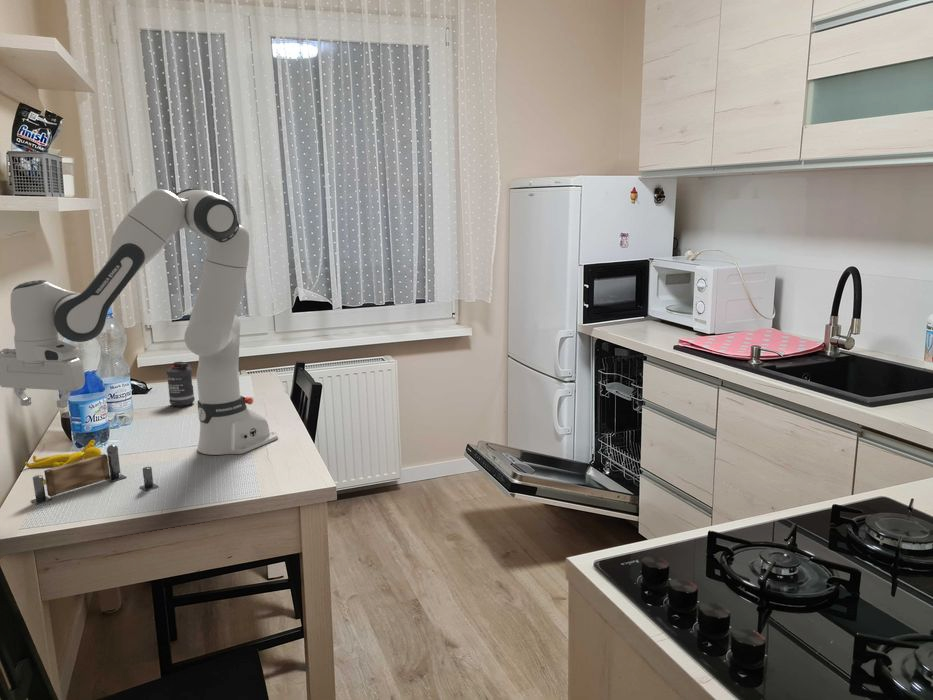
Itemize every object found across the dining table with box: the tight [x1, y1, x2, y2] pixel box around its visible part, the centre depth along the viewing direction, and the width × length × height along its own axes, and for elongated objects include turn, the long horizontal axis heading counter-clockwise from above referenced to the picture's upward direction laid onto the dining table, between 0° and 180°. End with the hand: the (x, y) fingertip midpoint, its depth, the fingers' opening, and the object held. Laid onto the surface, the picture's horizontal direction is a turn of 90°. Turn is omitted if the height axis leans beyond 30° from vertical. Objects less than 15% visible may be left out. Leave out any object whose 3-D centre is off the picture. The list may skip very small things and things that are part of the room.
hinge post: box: [106, 444, 127, 483], centre depth 175 cm, size 4×4×9 cm
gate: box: [44, 453, 110, 498], centre depth 169 cm, size 14×2×6 cm, turn 141°
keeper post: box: [139, 466, 160, 492], centre depth 170 cm, size 3×3×5 cm
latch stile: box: [30, 474, 52, 506], centre depth 162 cm, size 3×3×6 cm
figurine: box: [24, 439, 103, 469], centre depth 187 cm, size 14×5×18 cm
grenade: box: [166, 361, 195, 408], centre depth 239 cm, size 8×8×15 cm
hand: (44, 406), depth 166 cm, fingers open, 8 cm apart
